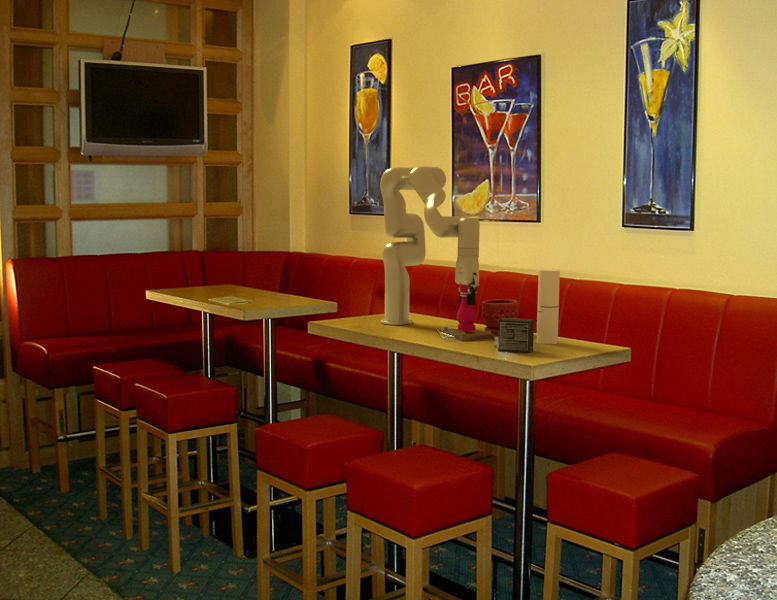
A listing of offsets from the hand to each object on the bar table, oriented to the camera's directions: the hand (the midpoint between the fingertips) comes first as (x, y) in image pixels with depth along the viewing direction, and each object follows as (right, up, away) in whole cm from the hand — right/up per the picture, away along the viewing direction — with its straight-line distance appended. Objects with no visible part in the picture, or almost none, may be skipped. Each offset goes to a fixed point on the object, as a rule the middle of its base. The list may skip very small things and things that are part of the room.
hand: (467, 303), depth 332 cm
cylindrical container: (+27, -14, -10) cm, 32 cm away
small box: (+14, -16, -28) cm, 34 cm away
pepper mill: (0, -10, +1) cm, 10 cm away
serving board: (0, -12, +1) cm, 12 cm away
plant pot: (+13, -11, +10) cm, 19 cm away
